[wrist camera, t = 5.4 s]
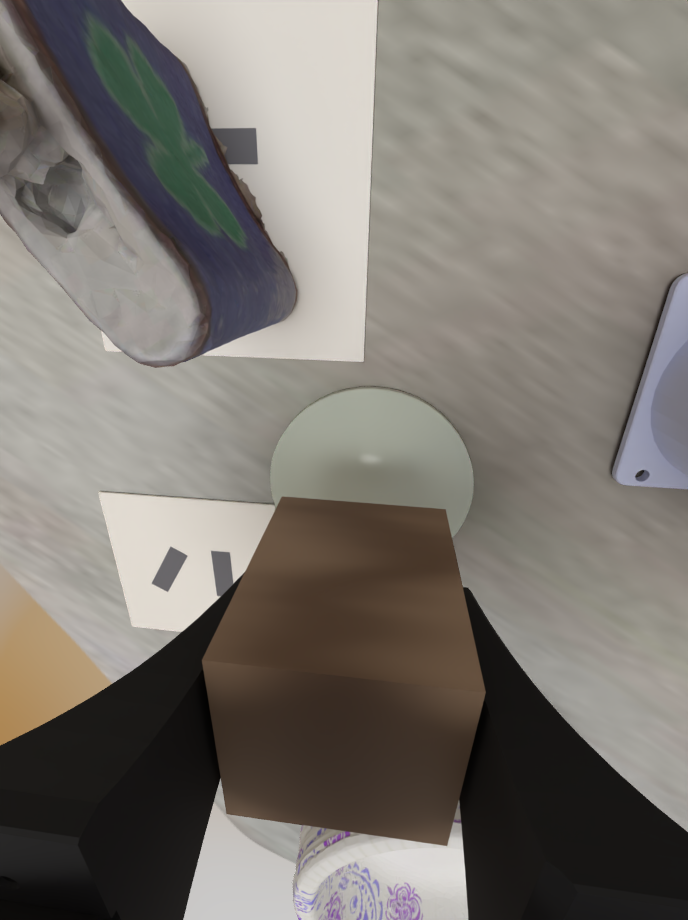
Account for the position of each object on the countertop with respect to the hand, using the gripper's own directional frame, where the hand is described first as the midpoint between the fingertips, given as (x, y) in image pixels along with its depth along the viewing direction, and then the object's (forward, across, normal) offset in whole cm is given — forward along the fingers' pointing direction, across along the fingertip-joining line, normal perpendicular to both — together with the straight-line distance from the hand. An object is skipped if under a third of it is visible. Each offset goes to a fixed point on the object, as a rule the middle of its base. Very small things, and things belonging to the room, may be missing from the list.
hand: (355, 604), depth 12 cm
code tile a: (+8, +6, -11) cm, 15 cm away
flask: (+8, +6, -11) cm, 15 cm away
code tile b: (+8, +9, +6) cm, 13 cm away
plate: (+8, 0, 0) cm, 8 cm away
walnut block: (+2, 0, 0) cm, 2 cm away
